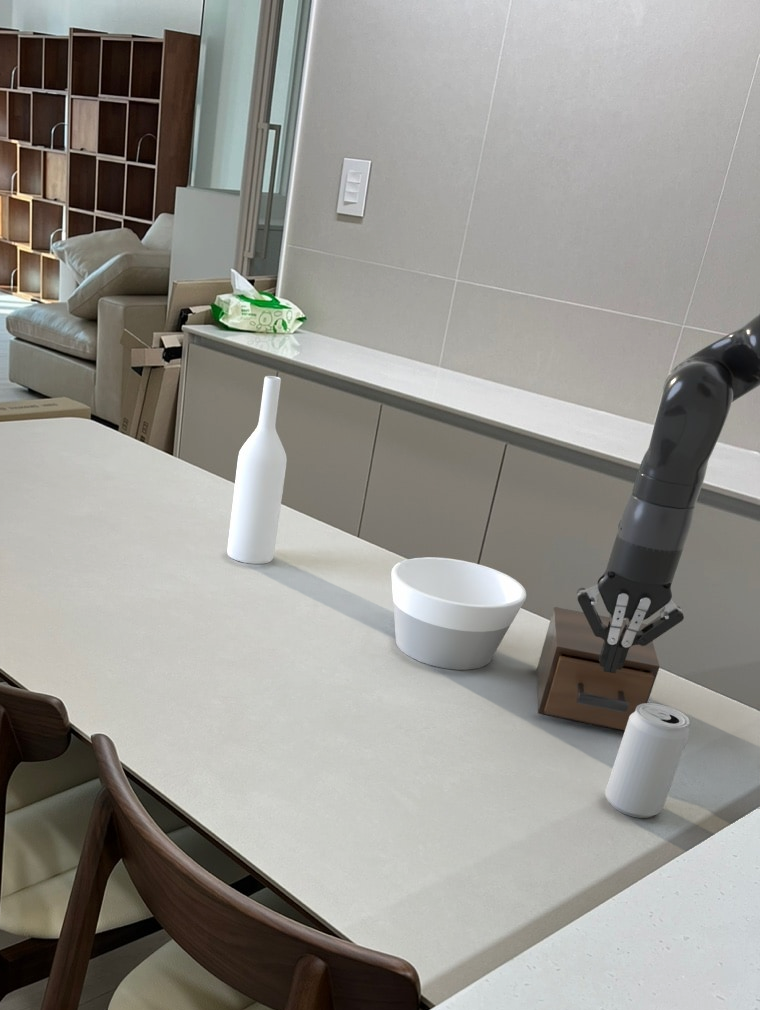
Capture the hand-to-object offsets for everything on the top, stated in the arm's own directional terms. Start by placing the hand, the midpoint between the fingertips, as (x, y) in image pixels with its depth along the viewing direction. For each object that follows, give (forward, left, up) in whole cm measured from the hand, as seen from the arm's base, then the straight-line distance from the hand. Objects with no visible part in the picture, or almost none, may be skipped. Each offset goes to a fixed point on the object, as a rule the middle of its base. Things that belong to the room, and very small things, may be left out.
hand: (608, 670), depth 132 cm
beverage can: (-4, +16, -10) cm, 19 cm away
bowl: (+20, -19, -10) cm, 29 cm away
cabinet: (0, -11, -10) cm, 15 cm away
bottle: (+55, -43, -10) cm, 71 cm away
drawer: (0, -7, -9) cm, 11 cm away
